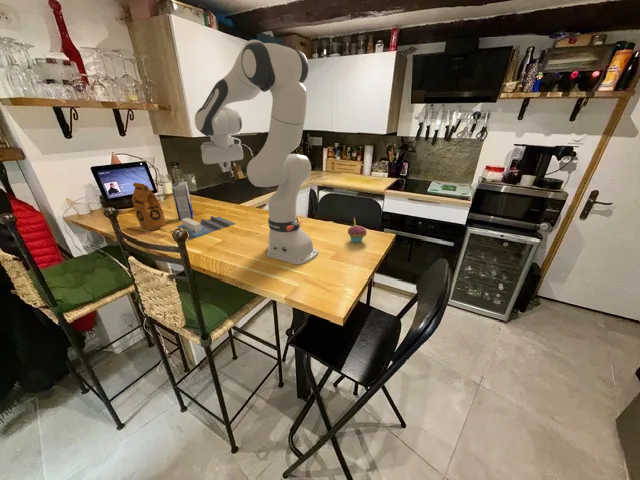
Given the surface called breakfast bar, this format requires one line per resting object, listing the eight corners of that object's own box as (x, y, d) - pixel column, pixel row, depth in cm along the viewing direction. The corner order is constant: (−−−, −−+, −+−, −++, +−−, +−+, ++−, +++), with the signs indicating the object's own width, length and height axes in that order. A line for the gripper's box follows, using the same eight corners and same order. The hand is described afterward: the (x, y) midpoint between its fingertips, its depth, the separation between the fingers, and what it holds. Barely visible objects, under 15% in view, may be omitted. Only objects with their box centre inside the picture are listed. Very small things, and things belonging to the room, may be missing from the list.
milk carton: (193, 220, 140) (185, 183, 131) (179, 222, 138) (170, 184, 129) (193, 216, 146) (186, 180, 137) (180, 217, 144) (172, 181, 135)
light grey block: (202, 233, 123) (200, 223, 121) (196, 235, 121) (194, 225, 119) (189, 226, 130) (187, 217, 127) (183, 228, 128) (181, 219, 125)
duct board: (236, 225, 135) (235, 219, 133) (187, 242, 116) (186, 236, 115) (219, 218, 144) (218, 212, 142) (170, 233, 125) (169, 226, 124)
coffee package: (149, 233, 125) (135, 188, 115) (137, 227, 131) (123, 183, 121) (170, 226, 132) (159, 183, 122) (158, 221, 138) (146, 180, 129)
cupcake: (351, 245, 116) (353, 220, 111) (344, 237, 124) (346, 213, 118) (368, 243, 118) (371, 219, 113) (361, 235, 126) (363, 212, 121)
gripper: (204, 142, 110) (209, 175, 116) (243, 139, 125) (246, 169, 131) (196, 142, 114) (202, 173, 120) (235, 139, 128) (239, 167, 134)
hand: (225, 171), depth 126 cm, fingers closed
